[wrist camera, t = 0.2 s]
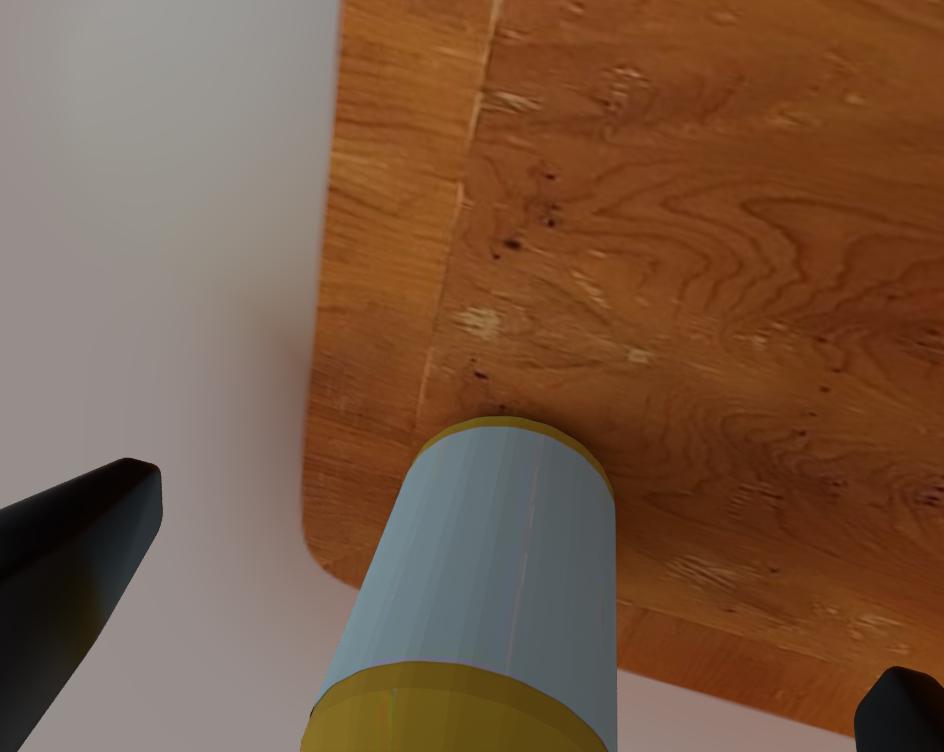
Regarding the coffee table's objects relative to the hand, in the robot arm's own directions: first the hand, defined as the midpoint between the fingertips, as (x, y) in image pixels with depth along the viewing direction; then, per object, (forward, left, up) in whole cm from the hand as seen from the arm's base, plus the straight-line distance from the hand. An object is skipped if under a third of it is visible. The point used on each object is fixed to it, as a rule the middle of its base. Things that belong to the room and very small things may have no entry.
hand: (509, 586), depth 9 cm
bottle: (-9, -1, -13) cm, 16 cm away
